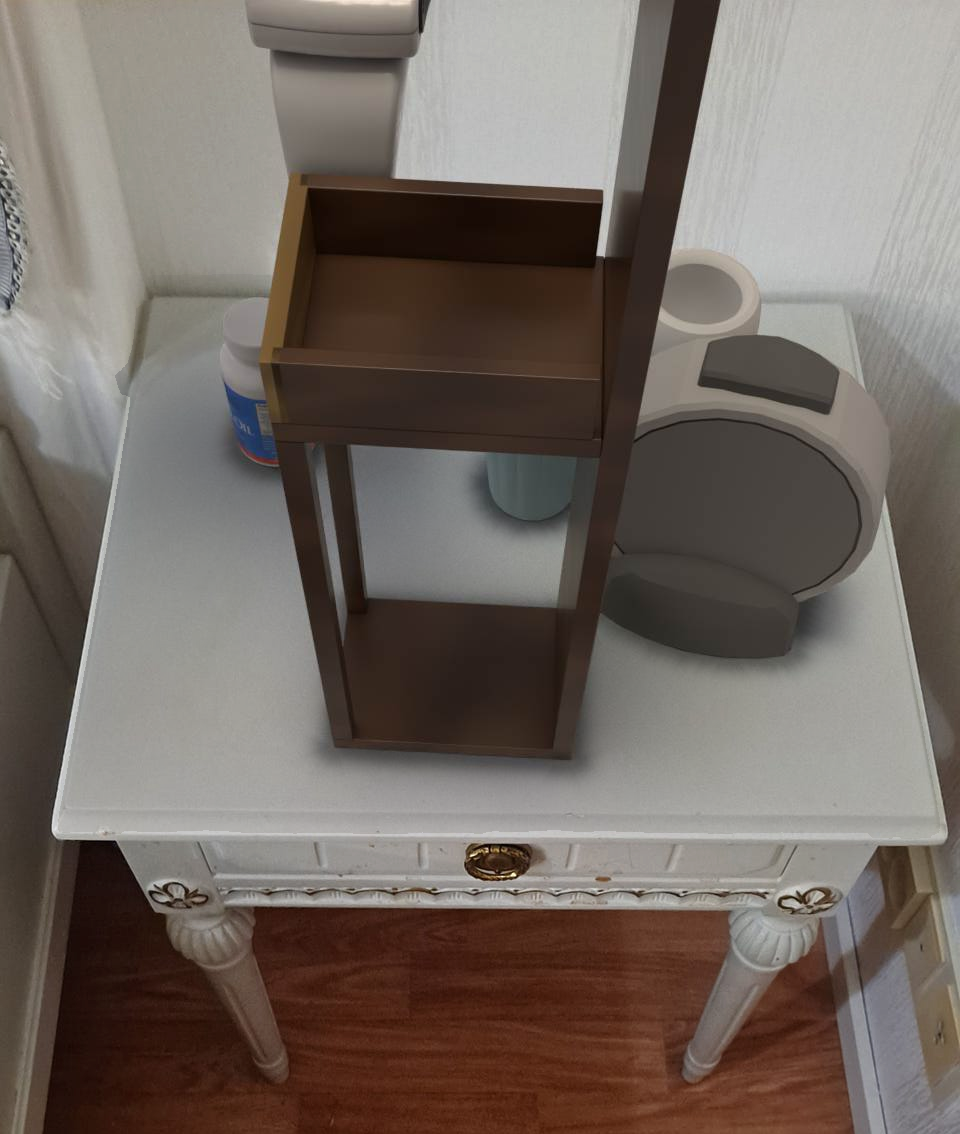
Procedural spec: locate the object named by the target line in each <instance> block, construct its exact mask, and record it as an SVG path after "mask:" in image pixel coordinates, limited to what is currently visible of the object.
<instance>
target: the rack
mask: <svg viewBox="0 0 960 1134" xmlns="http://www.w3.org/2000/svg"><path fill="white" fill-rule="evenodd" d="M721 1H722V0H639V3H638V11H637V18H636V25H635V32H634V40H633V47H632V55H631V62H630V68H629V76H628V83H627V91H626V99H625V106H624V113H623V118H622V119H623V120H622V127H621V135H620V140H619V141H620V142H619V149H618V155H617V164H616V171H615V179H614V185H613V193H612V201H611V206H610V207H611V208H610V214H609V222H608V228H607V229H608V230H607V236H606V243H605V250H604V251H605V252H604V256H603V255H598V249H599V248H598V247H599V241H600V239H599V238H600V231H601V224H602V218H603V217H602V215H603V208H604V190H603V189H599V188H598V189H597V188H581V187H580V188H579V187H562V186H545V185H544V186H543V185H528V184H527V185H524V184H505V183H489V182H488V183H487V182H469V181H468V182H467V181H452V180H451V181H450V180H433V179H432V180H431V179H414V178H396V177H395V178H377V177H359V176H340V175H321V174H305V173H290V177H289V179H288V184H287V188H286V195H285V201H284V207H283V213H282V220H281V224H280V225H281V226H280V231H279V237H278V244H277V249H276V256H275V262H274V267H273V274H272V278H271V279H272V280H271V286H270V292H269V298H268V299H269V303H268V309H267V315H266V321H265V327H264V333H263V339H262V345H261V351H260V357H259V367H260V372H261V377H262V382H263V387H264V392H265V397H266V402H267V407H268V412H269V418H270V422H271V427H272V432H273V437H274V443H275V448H276V453H277V458H278V464H279V467H278V468H279V473H280V478H281V484H282V488H283V494H284V498H285V499H284V500H285V505H286V508H287V514H288V519H289V524H290V530H291V534H292V539H293V545H294V550H295V553H296V554H295V556H296V560H297V566H298V571H299V576H300V581H301V585H302V591H303V596H304V601H305V606H306V611H307V616H308V620H309V626H310V630H311V637H312V641H313V646H314V651H315V656H316V662H317V667H318V673H319V676H320V683H321V688H322V692H323V698H324V704H325V708H326V713H327V718H328V723H329V728H330V734H331V738H332V744H333V747H335V748H349V749H350V748H351V749H365V750H384V751H385V750H388V751H406V752H423V753H440V754H459V755H461V754H462V755H477V756H478V755H479V756H497V757H512V758H513V757H514V758H516V757H517V758H531V759H532V758H534V759H551V760H569V761H570V760H572V758H573V754H574V748H575V742H576V737H577V733H578V727H579V723H580V719H581V713H582V708H583V702H584V697H585V692H586V686H587V683H588V677H589V671H590V667H591V662H592V657H593V651H594V647H595V641H596V635H597V631H598V625H599V621H600V616H601V612H600V611H601V606H602V601H603V596H604V591H605V586H606V581H607V576H608V571H609V566H610V560H611V555H612V550H613V545H614V540H615V535H616V530H617V525H618V520H619V515H620V510H621V505H622V500H623V494H624V489H625V484H626V479H627V474H628V469H629V464H630V459H631V454H632V449H633V444H634V439H635V434H636V428H637V423H638V418H639V413H640V408H641V403H642V398H643V393H644V388H645V383H646V378H647V373H648V368H649V363H650V357H651V352H652V347H653V342H654V337H655V332H656V327H657V322H658V317H659V312H660V307H661V302H662V297H663V291H664V286H665V281H666V276H667V271H668V266H669V261H670V256H671V252H672V251H673V245H674V241H675V236H676V235H675V234H676V230H677V225H678V219H679V216H680V215H679V214H680V211H681V205H682V201H683V194H684V189H685V186H686V185H685V184H686V179H687V174H688V169H689V163H690V160H691V159H690V158H691V154H692V149H693V144H694V139H695V134H696V129H697V125H698V119H699V113H700V108H701V105H702V98H703V93H704V88H705V83H706V77H707V73H708V68H709V63H710V58H711V54H712V53H711V52H712V48H713V43H714V36H715V32H716V27H717V22H718V17H719V13H720V12H719V11H720V6H721ZM311 443H316V444H322V447H323V448H322V449H323V455H324V462H325V463H324V464H325V470H326V476H327V477H326V478H327V483H328V491H329V496H330V504H331V510H332V518H333V525H334V532H335V539H336V546H337V552H338V554H337V555H338V560H339V567H340V574H341V580H342V588H343V595H344V601H345V610H346V618H345V625H344V634H343V635H344V636H343V638H342V632H341V626H340V625H341V624H340V619H339V614H338V607H337V599H336V595H335V593H336V592H335V587H334V582H333V581H334V580H333V577H332V576H333V574H332V568H331V562H330V557H329V550H328V543H327V535H326V530H325V523H324V518H323V510H322V505H321V497H320V492H319V484H318V478H317V472H316V465H315V460H314V453H313V449H312V446H311ZM352 446H363V447H381V448H400V449H418V450H419V449H420V450H436V451H455V452H472V453H473V452H475V453H485V452H491V453H509V454H528V455H547V456H565V457H577V462H576V469H575V476H574V484H573V491H572V498H571V500H570V506H569V512H568V513H569V514H568V520H567V528H566V535H565V543H564V550H563V556H562V557H563V558H562V564H561V565H562V566H561V572H560V579H559V586H558V593H557V601H556V607H546V606H525V605H508V604H492V603H491V604H490V603H471V602H470V603H469V602H452V601H434V600H433V601H432V600H417V599H416V600H415V599H397V598H381V597H380V598H376V597H369V596H368V595H369V594H368V586H367V578H366V568H365V560H364V552H363V551H364V550H363V541H362V534H361V524H360V516H359V508H358V507H359V506H358V498H357V491H356V480H355V479H356V478H355V471H354V462H353V454H352Z"/></svg>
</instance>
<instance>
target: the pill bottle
mask: <svg viewBox="0 0 960 1134" xmlns="http://www.w3.org/2000/svg"><path fill="white" fill-rule="evenodd" d="M268 303H269V298H267V297H260V296H259V297H258V296H257V297H249V298H244V299H242V300H239V301H237V302H235V303H234V304H232V305H231V306H230V307H229V308H228V309H227V310H226V312H225V313H224V315H223V319H222V330H223V331H222V332H223V336H224V337H223V338H224V342H223V344H222V346H221V349H220V352H219V368H220V374H221V378H222V383H223V386H224V390H225V394H226V398H227V402H228V407H229V411H230V415H231V418H232V424H233V428H234V429H233V430H234V432H235V436H236V440H237V443H238V445H239V448H240V449H241V452H242V453H243V454H244V455H245V456H246V457H247V458H248V459H249V460H251V461H252V462H254V463H256V464H258V465H261V466H264V467H265V466H266V467H269V468H271V467H272V468H279V464H278V458H277V453H276V448H275V443H274V437H273V432H272V427H271V422H270V418H269V412H268V407H267V402H266V397H265V392H264V387H263V382H262V377H261V372H260V367H259V357H260V351H261V345H262V339H263V333H264V327H265V321H266V315H267V309H268ZM316 444H317V443H311V446H312V450H313V449H314V448H315V446H316Z"/></svg>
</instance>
